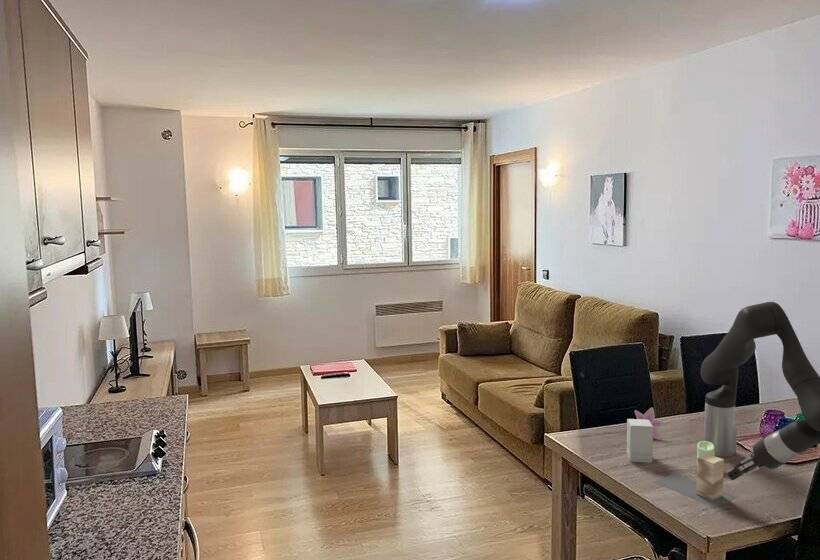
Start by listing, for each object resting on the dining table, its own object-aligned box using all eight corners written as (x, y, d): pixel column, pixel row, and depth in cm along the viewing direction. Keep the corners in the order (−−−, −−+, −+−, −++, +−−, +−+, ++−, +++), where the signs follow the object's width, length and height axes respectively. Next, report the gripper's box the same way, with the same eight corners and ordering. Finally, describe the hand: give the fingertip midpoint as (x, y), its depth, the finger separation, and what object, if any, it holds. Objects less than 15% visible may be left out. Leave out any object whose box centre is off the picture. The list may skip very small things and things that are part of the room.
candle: (713, 472, 193) (714, 447, 192) (696, 469, 196) (696, 444, 195) (714, 466, 198) (714, 442, 197) (697, 463, 200) (698, 439, 199)
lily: (622, 438, 226) (629, 421, 220) (629, 418, 235) (636, 401, 229) (655, 452, 222) (663, 435, 216) (660, 430, 230) (668, 413, 225)
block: (722, 496, 176) (723, 459, 174) (712, 501, 173) (713, 463, 172) (706, 490, 180) (707, 453, 179) (696, 494, 177) (697, 457, 176)
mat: (736, 499, 175) (736, 497, 175) (714, 509, 169) (714, 507, 169) (674, 474, 192) (674, 472, 192) (652, 483, 186) (652, 481, 186)
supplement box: (652, 463, 201) (653, 426, 200) (629, 461, 203) (630, 425, 201) (648, 454, 208) (649, 419, 207) (626, 453, 210) (626, 418, 208)
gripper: (780, 430, 164) (734, 459, 176) (754, 441, 157) (708, 470, 169) (800, 455, 161) (752, 483, 172) (774, 467, 154) (725, 495, 165)
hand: (730, 476), depth 171 cm, fingers closed
